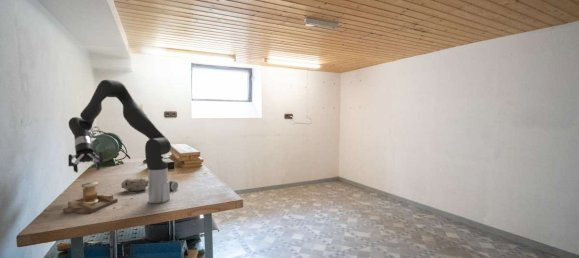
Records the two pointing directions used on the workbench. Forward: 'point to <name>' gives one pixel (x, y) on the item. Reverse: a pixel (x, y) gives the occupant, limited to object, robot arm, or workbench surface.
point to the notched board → (89, 204)
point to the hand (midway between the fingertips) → (87, 170)
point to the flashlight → (173, 185)
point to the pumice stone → (134, 184)
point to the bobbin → (90, 192)
